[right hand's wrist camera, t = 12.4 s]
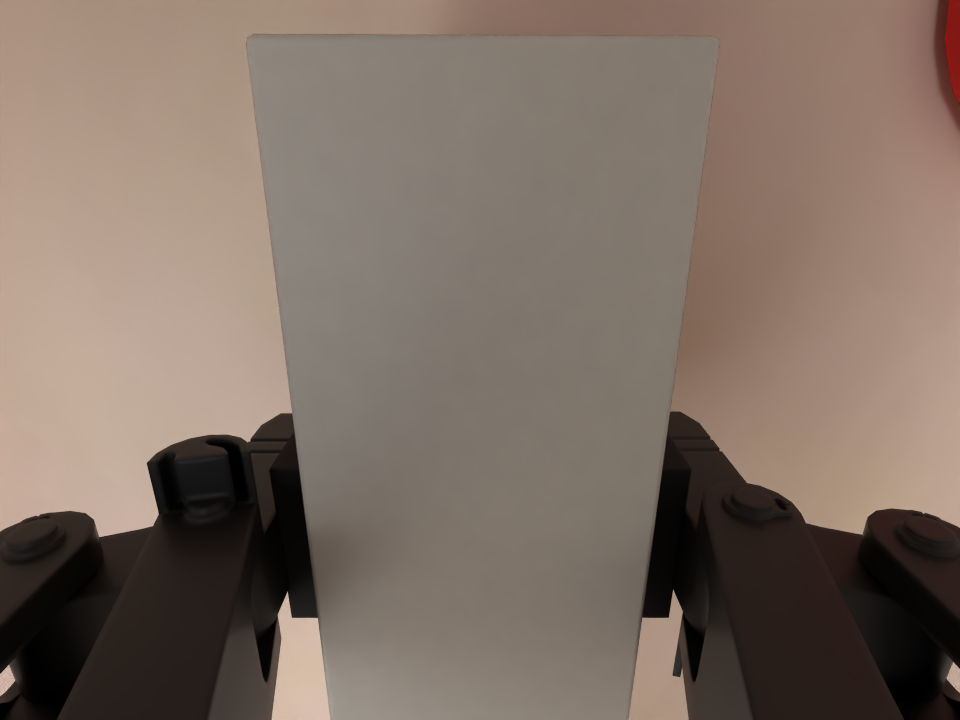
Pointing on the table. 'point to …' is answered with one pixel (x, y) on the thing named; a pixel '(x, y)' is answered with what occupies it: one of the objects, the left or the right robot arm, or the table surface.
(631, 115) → the beam
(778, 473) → the table surface
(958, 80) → the tow hook
